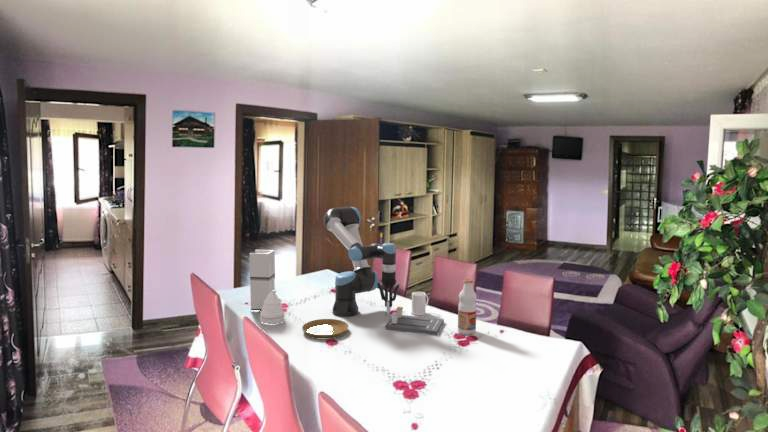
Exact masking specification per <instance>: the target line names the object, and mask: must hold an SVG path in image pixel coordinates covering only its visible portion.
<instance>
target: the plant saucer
mask: <svg viewBox="0 0 768 432" xmlns="http://www.w3.org/2000/svg"><path fill="white" fill-rule="evenodd" d="M323 324H328V325H331V326H332V327H333V331H334V332H333V331H332V332H333V334H332V335H314V334H310V333H307V332H306V331H307V329H309V328H310V327H313V326H317V325H323ZM301 328H302V331H303V332H304V334H305V335H306V336H308V337H310V338H312V337H314V338H313V339H317V338H330V339H335V338H334V337H336V338H338V336H339V337H340V336H342V334H343V335H344V334H345V333H346V332H347V331H348V329H349V324H348V323H347V322H346V321H343V320H340V319H336V318H335V319H333V318H321V319H320V318H319V319H314V320H311V321H308V322H305V323H304V324H303V325H302V327H301Z"/></svg>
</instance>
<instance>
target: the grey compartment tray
mask: <svg viewBox="0 0 768 432" xmlns="http://www.w3.org/2000/svg"><path fill="white" fill-rule="evenodd" d="M444 320H445V319H443V318H434V317H426V316H424V317H423V316H417V315H407V314H405V315H404V314H402V317H401V318H398V322H397V323H396V324H394V323H392V317H391V318H390V319H389V321H388V322H387V323H386V324H385V325H384V330H386V331H387V330H388V331H395V332H396V331H397V332H403V333H404V332H406V333H414V334H422V335H430V336H431V335H432V336H433V335H434V336H438V334H439V332H440V330H441V328H442V327H443V325H444V323H445V321H444Z"/></svg>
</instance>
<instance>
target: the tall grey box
mask: <svg viewBox="0 0 768 432" xmlns="http://www.w3.org/2000/svg"><path fill="white" fill-rule="evenodd" d="M275 252H276V251H275V250H274V249H255V250H254V252H249V279H250V280H249V282H250V283H249V285H250V286H249V287H250V290H249V291H250V311H251V310H260V311H262V306H263V304H264V303H263V301H264V300H265V299H266V297H267V295H268V294H269V293H270V292H272V290H276V289H275V288H276V287H275V279H276V263H275V262H276V261H275V260H276V259H275Z"/></svg>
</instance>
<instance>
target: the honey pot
mask: <svg viewBox="0 0 768 432" xmlns="http://www.w3.org/2000/svg"><path fill="white" fill-rule="evenodd" d="M276 293H277V289H275V290H272V292H270V293H269V294H268V295H267V297H266V299H265V300H264V301H263V303H264V304H263V306H262V311H261V313H260V323H261V322H263V323H268V324H277V323H281V322H283V321H284V322H285V311H284V308H283V304H282V302H283V301H282V299H281V298H279V296H278V294H276ZM284 322H283V323H284ZM281 324H282V323H281ZM277 325H278V324H277Z"/></svg>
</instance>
